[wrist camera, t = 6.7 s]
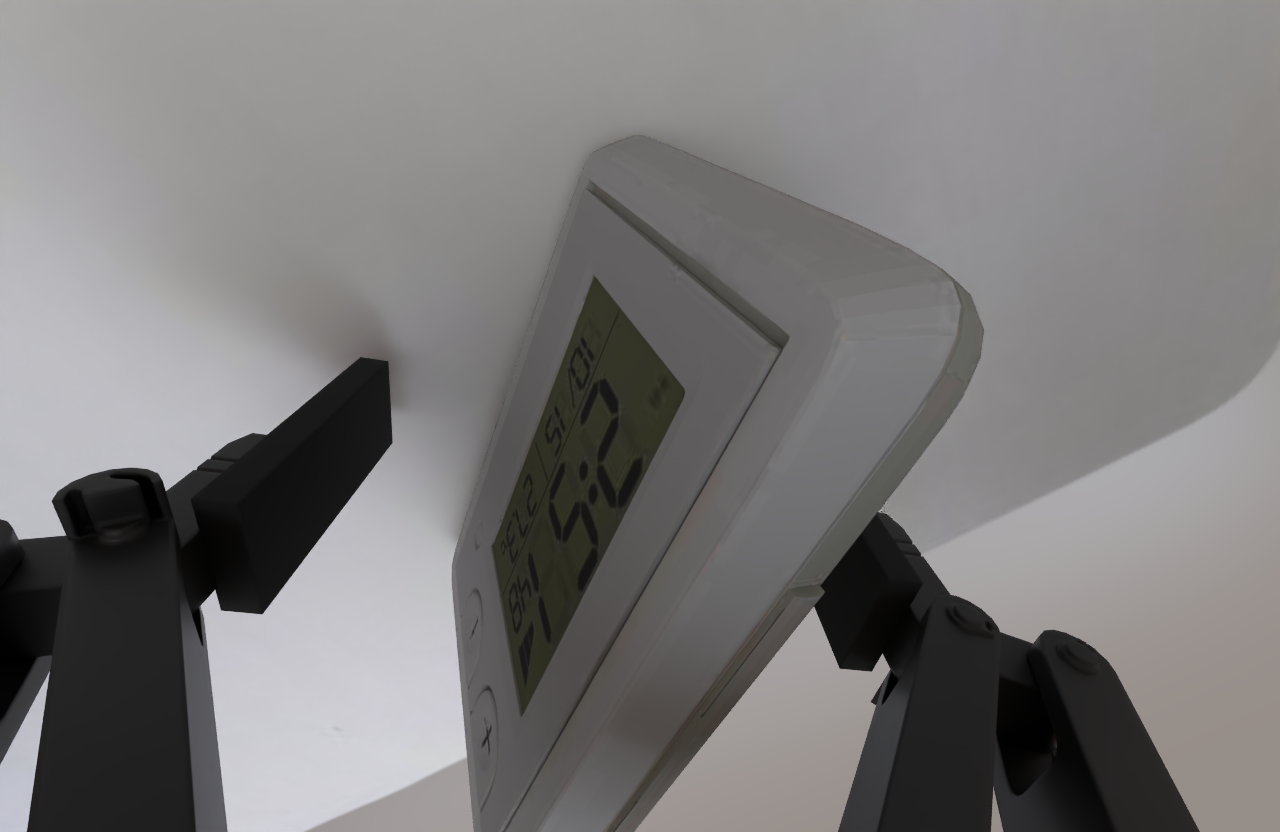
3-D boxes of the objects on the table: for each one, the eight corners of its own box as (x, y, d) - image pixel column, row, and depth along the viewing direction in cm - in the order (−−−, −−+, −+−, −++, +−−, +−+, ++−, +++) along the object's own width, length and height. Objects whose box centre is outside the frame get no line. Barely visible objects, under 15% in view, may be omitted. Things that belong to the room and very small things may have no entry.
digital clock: (628, 92, 13) (640, -30, 4) (877, 291, 16) (1260, 520, 6) (384, 519, 19) (152, 886, 10) (592, 612, 22) (569, 972, 12)
